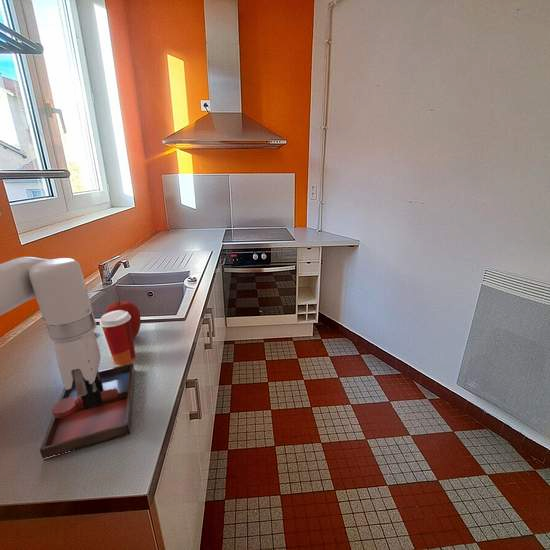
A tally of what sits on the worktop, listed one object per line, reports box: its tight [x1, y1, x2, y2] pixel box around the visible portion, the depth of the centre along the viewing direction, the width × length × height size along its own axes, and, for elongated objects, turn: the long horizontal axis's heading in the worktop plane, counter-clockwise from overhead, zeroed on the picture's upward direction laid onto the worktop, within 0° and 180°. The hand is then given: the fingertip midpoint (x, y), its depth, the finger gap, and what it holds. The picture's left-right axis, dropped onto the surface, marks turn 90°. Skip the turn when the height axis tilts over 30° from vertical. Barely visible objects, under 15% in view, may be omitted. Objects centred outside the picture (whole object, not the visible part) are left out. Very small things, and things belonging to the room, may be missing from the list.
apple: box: [104, 298, 142, 339], centre depth 94 cm, size 10×10×14 cm
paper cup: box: [99, 310, 136, 366], centre depth 84 cm, size 8×8×14 cm
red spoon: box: [51, 388, 118, 418], centre depth 62 cm, size 12×4×2 cm, turn 111°
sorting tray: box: [39, 362, 136, 459], centre depth 68 cm, size 15×22×3 cm
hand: (95, 401), depth 63 cm, fingers closed on red spoon, 2 cm apart
